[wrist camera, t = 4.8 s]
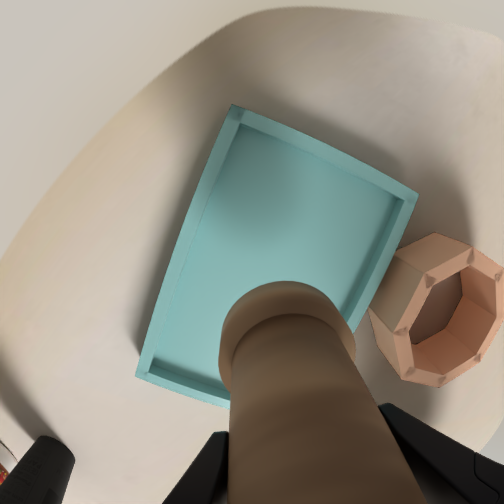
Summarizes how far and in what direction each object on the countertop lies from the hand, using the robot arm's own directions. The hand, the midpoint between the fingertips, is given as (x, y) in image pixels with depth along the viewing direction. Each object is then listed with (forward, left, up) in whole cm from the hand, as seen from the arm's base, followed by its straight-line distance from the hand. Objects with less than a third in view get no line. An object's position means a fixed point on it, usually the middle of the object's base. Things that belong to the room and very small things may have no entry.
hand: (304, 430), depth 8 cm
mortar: (-11, -3, -13) cm, 17 cm away
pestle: (0, 0, -6) cm, 6 cm away
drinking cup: (+13, +27, -13) cm, 33 cm away
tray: (0, 0, -13) cm, 13 cm away
